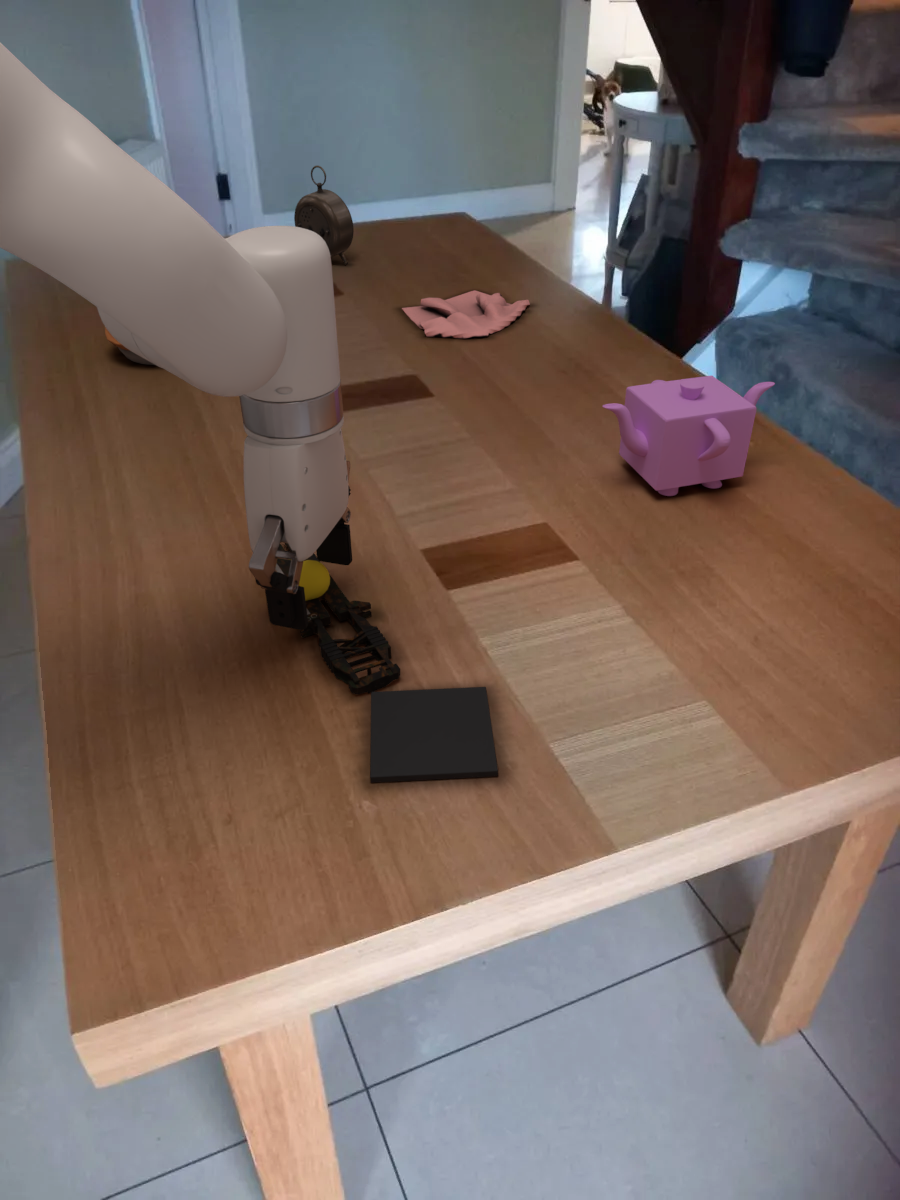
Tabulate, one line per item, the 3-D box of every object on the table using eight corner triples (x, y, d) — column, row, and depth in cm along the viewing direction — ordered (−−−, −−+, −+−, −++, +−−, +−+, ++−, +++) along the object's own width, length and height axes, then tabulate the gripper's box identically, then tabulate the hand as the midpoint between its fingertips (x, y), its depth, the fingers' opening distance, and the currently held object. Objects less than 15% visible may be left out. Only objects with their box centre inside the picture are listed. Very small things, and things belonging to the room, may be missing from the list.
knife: (258, 544, 90) (256, 531, 89) (322, 530, 92) (320, 518, 91) (331, 704, 71) (330, 690, 70) (409, 682, 73) (409, 669, 72)
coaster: (370, 783, 65) (370, 777, 64) (371, 697, 72) (371, 691, 72) (497, 776, 65) (498, 770, 65) (485, 692, 72) (486, 686, 72)
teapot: (646, 435, 109) (658, 346, 103) (758, 462, 103) (778, 370, 97) (592, 489, 99) (602, 394, 92) (714, 523, 93) (733, 424, 86)
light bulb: (329, 564, 79) (307, 545, 81) (275, 608, 78) (254, 588, 80) (343, 588, 82) (321, 569, 84) (290, 631, 80) (269, 610, 82)
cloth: (418, 343, 134) (418, 327, 132) (395, 296, 151) (395, 281, 150) (553, 333, 137) (554, 317, 136) (515, 288, 154) (516, 273, 153)
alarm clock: (357, 263, 166) (351, 166, 157) (337, 271, 163) (329, 172, 153) (313, 253, 172) (304, 159, 162) (293, 260, 168) (283, 164, 159)
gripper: (293, 358, 76) (312, 534, 86) (189, 450, 63) (226, 645, 73) (379, 368, 74) (388, 546, 84) (289, 464, 61) (313, 662, 71)
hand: (313, 592), depth 79 cm, fingers open, 9 cm apart
